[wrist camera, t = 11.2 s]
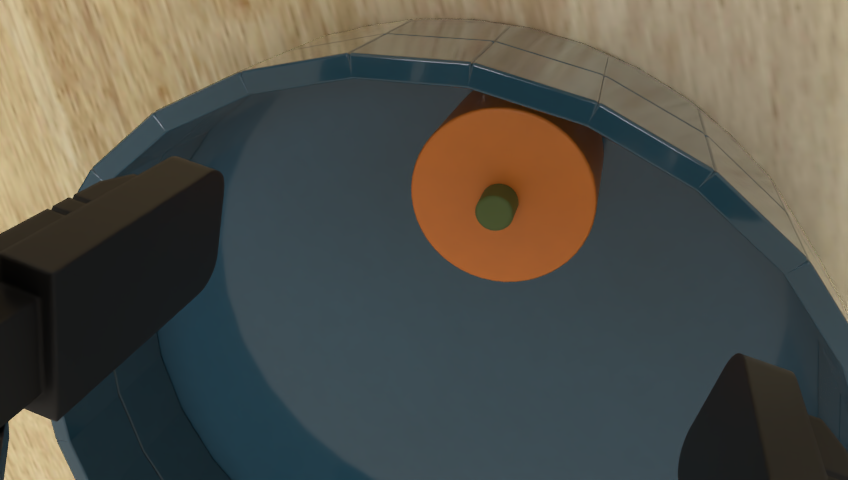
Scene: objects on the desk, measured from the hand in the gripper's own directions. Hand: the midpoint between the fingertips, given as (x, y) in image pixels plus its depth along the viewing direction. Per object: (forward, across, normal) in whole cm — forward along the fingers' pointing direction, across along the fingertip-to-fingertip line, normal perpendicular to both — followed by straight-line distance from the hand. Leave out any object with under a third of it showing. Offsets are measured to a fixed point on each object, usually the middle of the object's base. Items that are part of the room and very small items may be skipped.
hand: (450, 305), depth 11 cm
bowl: (+8, 0, +8) cm, 12 cm away
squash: (+8, 0, 0) cm, 8 cm away
